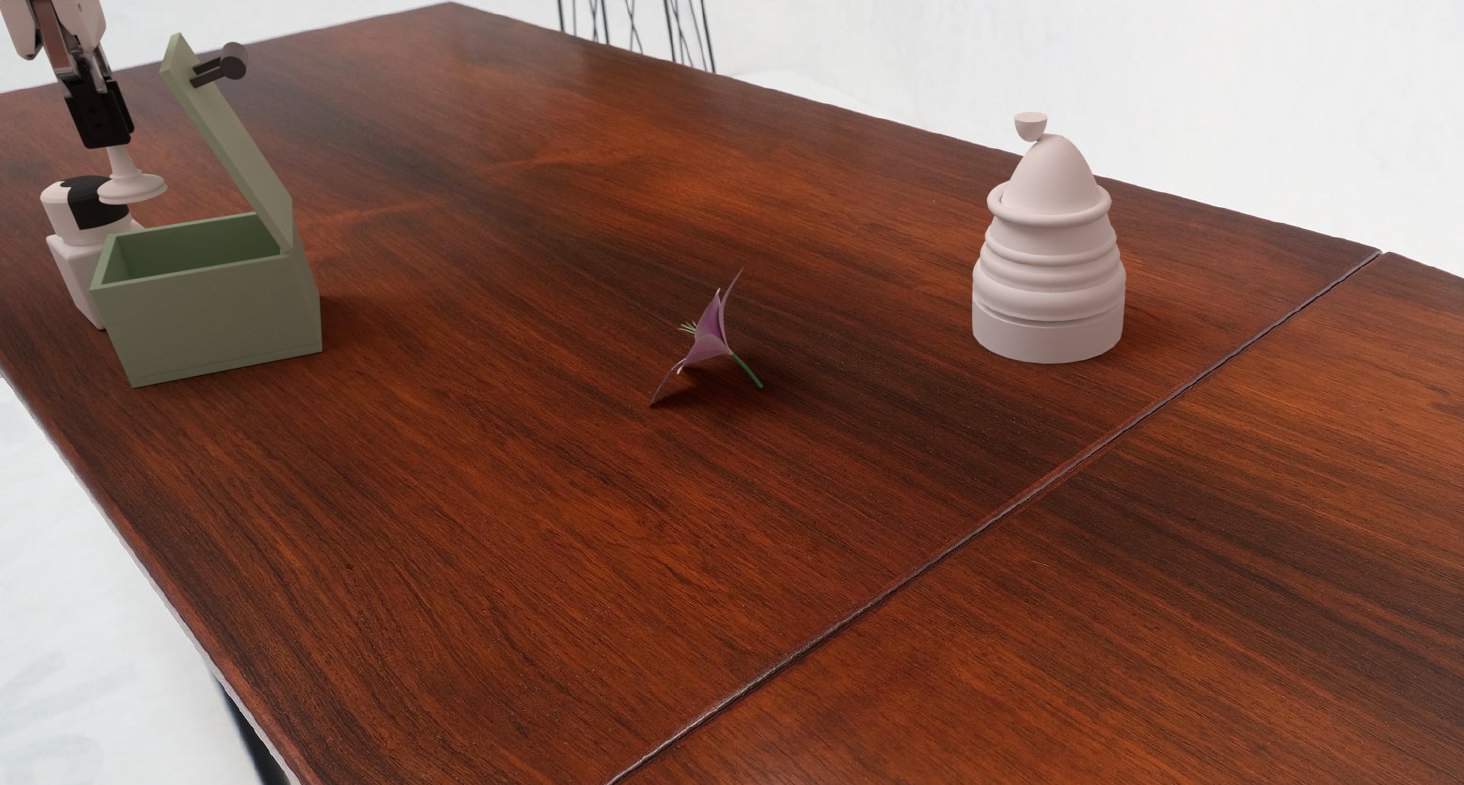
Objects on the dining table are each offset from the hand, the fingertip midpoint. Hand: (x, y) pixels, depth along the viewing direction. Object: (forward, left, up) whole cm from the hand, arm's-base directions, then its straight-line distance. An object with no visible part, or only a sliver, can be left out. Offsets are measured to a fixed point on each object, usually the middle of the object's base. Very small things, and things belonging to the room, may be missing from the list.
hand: (110, 138), depth 95 cm
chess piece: (0, 0, -5) cm, 5 cm away
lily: (+39, -27, -18) cm, 51 cm away
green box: (+3, 0, -18) cm, 19 cm away
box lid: (+8, 0, -2) cm, 8 cm away
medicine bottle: (-6, +12, -19) cm, 23 cm away
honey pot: (+68, -30, -18) cm, 77 cm away
